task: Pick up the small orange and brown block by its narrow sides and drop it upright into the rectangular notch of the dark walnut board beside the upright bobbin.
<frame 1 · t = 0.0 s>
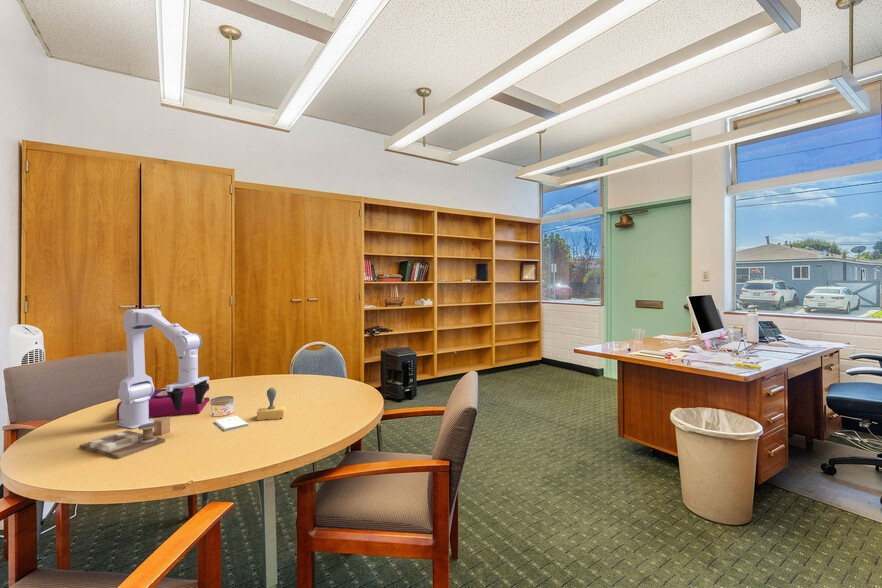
hand: (188, 407, 141), 10 cm above the table, tool pointing down, fingers open, 7 cm apart
book: (167, 410, 169), on the table
external hard drive: (231, 426, 153), on the table
orange and brown block: (162, 433, 143), on the table
notched board: (123, 444, 132), on the table
rubber stamp: (271, 418, 161), on the table
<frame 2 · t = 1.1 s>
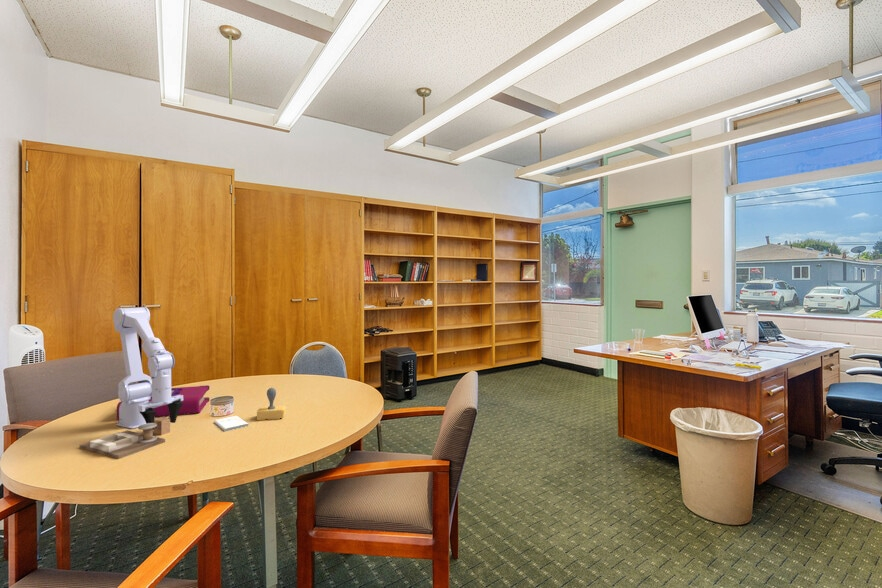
hand: (162, 425, 143), 3 cm above the table, tool pointing down, fingers open, 7 cm apart
nothing on the table moved.
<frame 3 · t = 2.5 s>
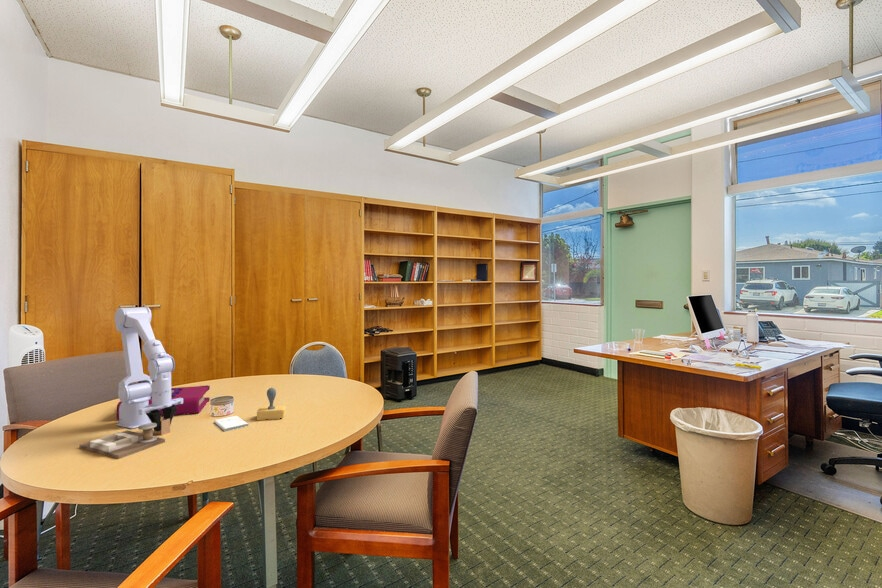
hand: (162, 428, 143), 1 cm above the table, tool pointing down, fingers closed on orange and brown block, 3 cm apart
orange and brown block: (162, 432, 143), on the table, touching gripper
everything else where it was.
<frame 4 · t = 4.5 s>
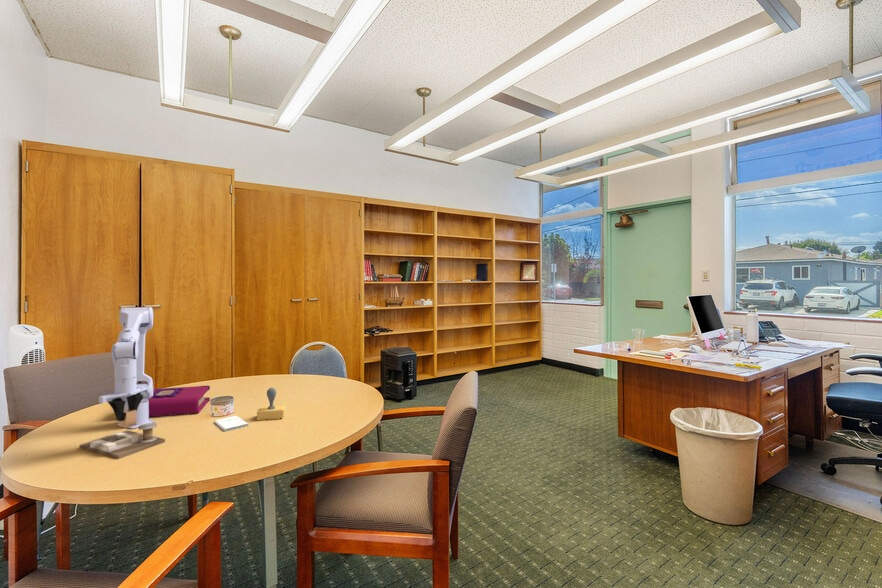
hand: (126, 418, 133), 8 cm above the table, tool pointing down, fingers closed on orange and brown block, 3 cm apart
orange and brown block: (127, 425, 133), point 6 cm above the table, touching gripper
everything else where it was.
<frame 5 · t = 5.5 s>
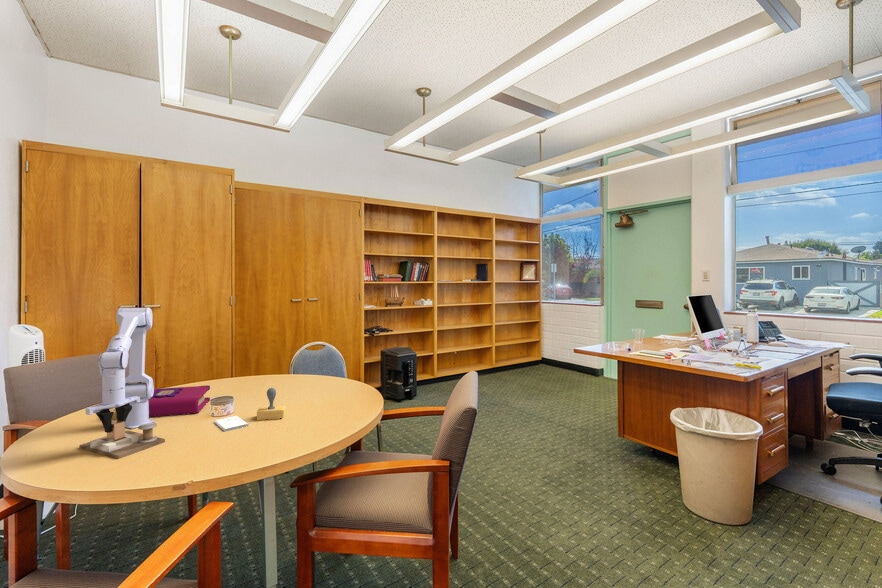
hand: (114, 430, 130), 6 cm above the table, tool pointing down, fingers closed on orange and brown block, 3 cm apart
orange and brown block: (115, 437, 130), point 4 cm above the table, touching gripper
everything else where it was.
when the fingers open (4 cm above the table, at t = 6.6 s): orange and brown block stays where it is, resting on notched board.
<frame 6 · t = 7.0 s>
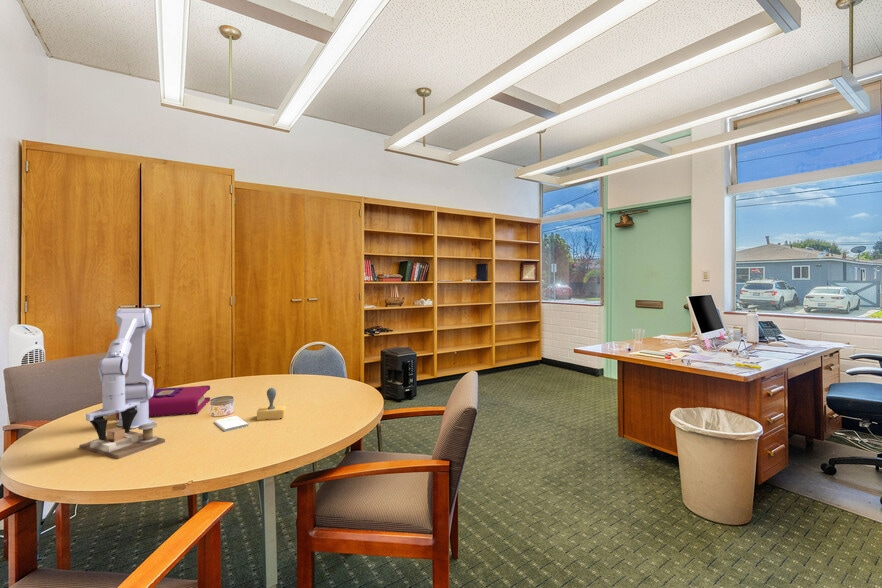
hand: (114, 435, 130), 4 cm above the table, tool pointing down, fingers open, 6 cm apart
orange and brown block: (115, 445, 130), point 1 cm above the table, touching notched board
everything else where it was.
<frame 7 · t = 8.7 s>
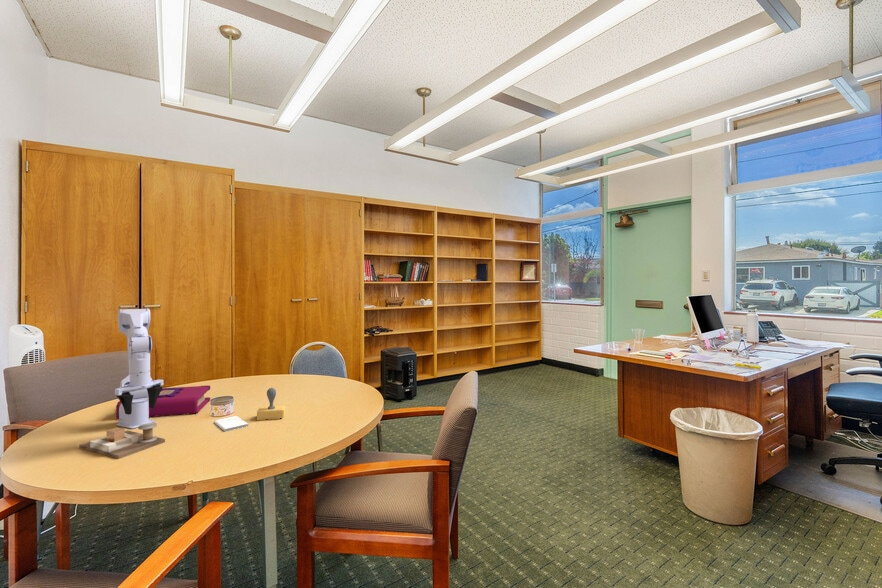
hand: (140, 410, 139), 9 cm above the table, tool pointing down, fingers open, 7 cm apart
nothing on the table moved.
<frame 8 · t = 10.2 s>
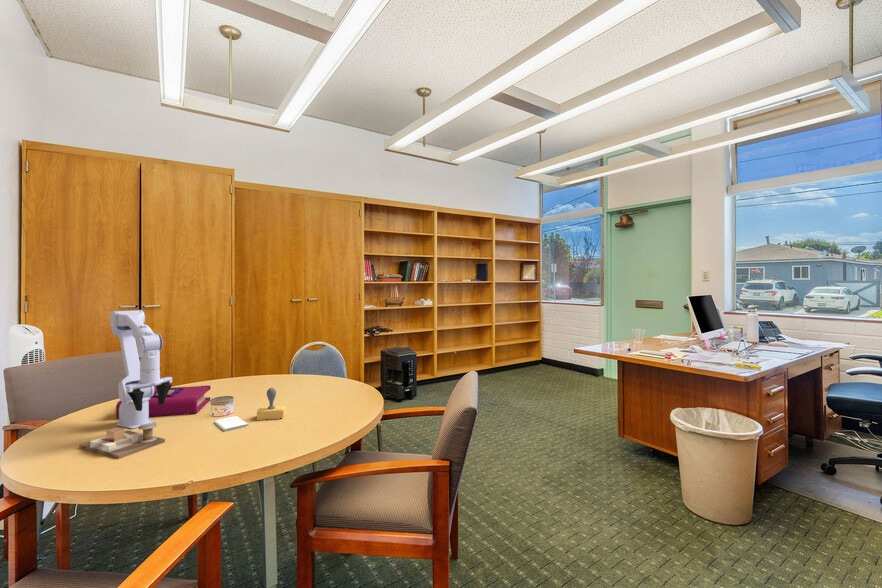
hand: (150, 407, 142), 9 cm above the table, tool pointing down, fingers open, 7 cm apart
at the end: orange and brown block 0.7 cm from the target spot on the notched board, point 1.0 cm above the notched board's base; orange and brown block tilted 0°; the gripper is holding nothing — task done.
